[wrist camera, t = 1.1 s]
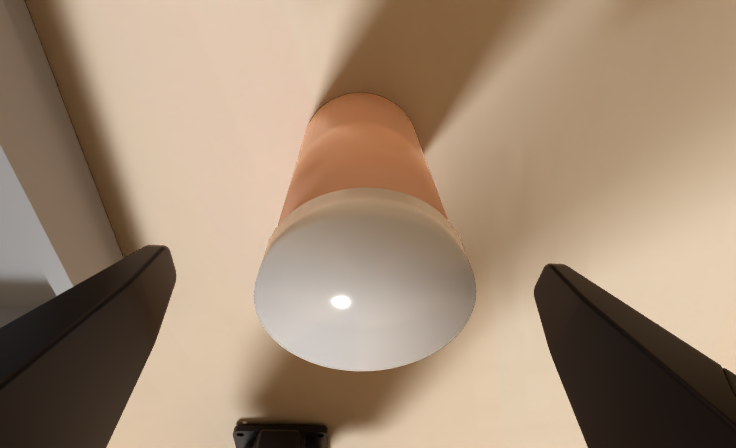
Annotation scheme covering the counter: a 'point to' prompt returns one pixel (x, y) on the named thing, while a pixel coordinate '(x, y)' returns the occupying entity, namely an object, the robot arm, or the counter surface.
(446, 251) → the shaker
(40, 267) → the tray
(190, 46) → the counter surface
